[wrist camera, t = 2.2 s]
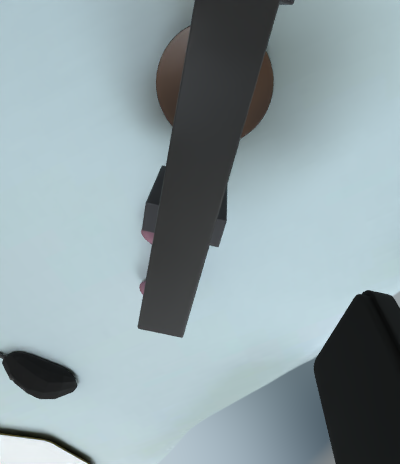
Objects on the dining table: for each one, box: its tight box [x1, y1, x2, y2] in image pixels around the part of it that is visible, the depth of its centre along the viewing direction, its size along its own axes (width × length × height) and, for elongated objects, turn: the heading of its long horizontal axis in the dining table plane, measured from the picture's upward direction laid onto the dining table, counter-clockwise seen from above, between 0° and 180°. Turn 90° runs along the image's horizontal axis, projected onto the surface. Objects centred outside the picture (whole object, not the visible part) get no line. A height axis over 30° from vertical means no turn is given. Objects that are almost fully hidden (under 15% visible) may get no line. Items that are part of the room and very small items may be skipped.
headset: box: [138, 0, 294, 338], centre depth 20 cm, size 6×18×17 cm, turn 168°
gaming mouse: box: [0, 352, 77, 399], centre depth 54 cm, size 6×15×4 cm, turn 58°
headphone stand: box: [156, 26, 273, 138], centre depth 23 cm, size 10×10×19 cm
